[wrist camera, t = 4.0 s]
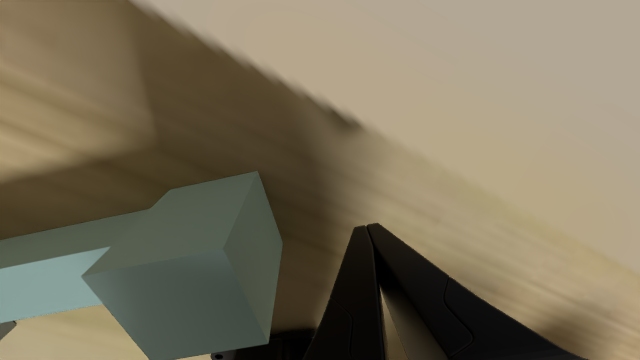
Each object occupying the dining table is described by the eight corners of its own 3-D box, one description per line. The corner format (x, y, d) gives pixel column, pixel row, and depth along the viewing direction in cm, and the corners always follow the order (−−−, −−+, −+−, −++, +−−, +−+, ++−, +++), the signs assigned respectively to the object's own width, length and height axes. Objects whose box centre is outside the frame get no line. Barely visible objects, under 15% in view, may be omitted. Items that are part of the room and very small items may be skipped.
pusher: (283, 243, 13) (268, 343, 9) (-5, 298, 14) (-153, 414, 10) (257, 170, 11) (222, 248, 7) (-68, 240, 12) (-284, 347, 8)
